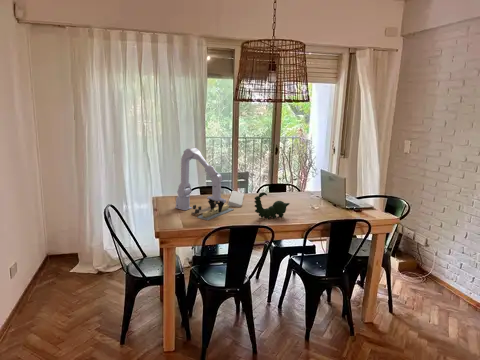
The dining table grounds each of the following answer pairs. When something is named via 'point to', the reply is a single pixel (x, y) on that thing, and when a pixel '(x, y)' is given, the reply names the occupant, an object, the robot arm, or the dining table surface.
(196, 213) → the rail stand
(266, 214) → the toy figurine
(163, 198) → the dining table surface
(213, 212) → the rail
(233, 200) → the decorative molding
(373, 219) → the dining table surface
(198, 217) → the mat
